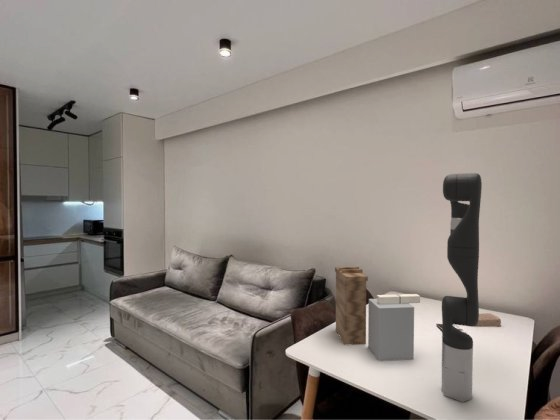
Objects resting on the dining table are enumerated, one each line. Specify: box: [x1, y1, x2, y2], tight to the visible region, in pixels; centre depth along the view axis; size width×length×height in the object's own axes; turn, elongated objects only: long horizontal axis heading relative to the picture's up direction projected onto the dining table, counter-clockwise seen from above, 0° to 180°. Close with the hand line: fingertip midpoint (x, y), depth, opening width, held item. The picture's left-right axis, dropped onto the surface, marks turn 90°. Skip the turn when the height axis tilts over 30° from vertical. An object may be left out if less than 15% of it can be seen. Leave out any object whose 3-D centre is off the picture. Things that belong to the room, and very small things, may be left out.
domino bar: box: [376, 293, 421, 304], centre depth 135 cm, size 18×3×3 cm, turn 94°
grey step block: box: [367, 298, 415, 362], centre depth 135 cm, size 15×12×22 cm
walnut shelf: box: [334, 266, 369, 345], centre depth 151 cm, size 10×20×34 cm, turn 4°
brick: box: [474, 312, 502, 328], centre depth 166 cm, size 16×8×5 cm, turn 89°
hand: (459, 266), depth 132 cm, fingers open, 8 cm apart
